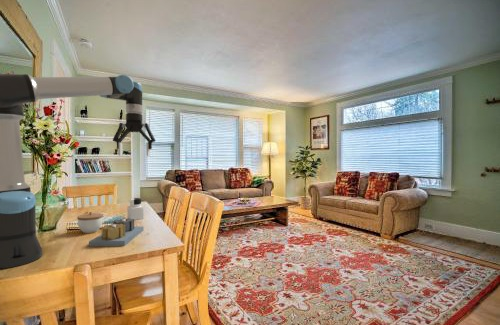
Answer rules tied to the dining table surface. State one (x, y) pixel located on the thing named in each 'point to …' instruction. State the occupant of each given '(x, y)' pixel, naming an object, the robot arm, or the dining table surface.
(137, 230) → the gear board
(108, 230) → the bronze gear
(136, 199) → the medicine bottle
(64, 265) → the dining table surface
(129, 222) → the dark gear
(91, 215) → the lidded jar
